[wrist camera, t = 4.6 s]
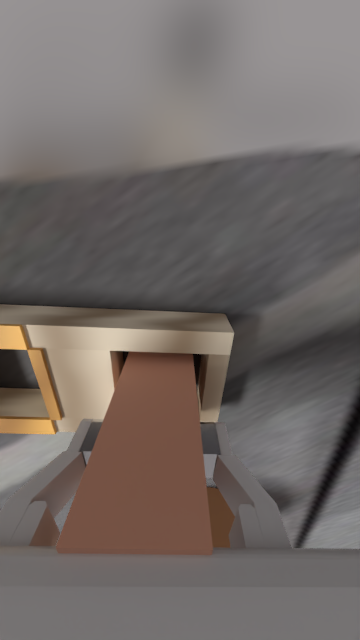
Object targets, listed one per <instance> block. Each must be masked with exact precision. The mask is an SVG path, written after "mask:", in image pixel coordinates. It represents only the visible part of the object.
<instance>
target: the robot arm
mask: <svg viewBox="0 0 360 640" xmlns="http://www.w3.org/2000/svg"><path fill="white" fill-rule="evenodd" d="M103 420H104V419H83V420H82V421H81V422H80V425H79V427H78V429H77V431H76V433H75V435H74V437H73V439H72V441H71V443H70V445H69V447H68V449H67V451H66V452H62V453H61V454H60V455H59V456H57V457H56V458H55V459H54V460H53V461H52V462H50V463H49V464H48V465H47V466H46V467H45V468H43V469H42V470H41V471H40V472H39V473H38V474H36V475H35V476H34V477H33V478H32V479H31V480H29V481H28V482H27V483H26V484H25V485H24V486H22V487H21V488H20V489H19V490H18V491H17V492H15V493H14V494H13V495H12V496H11V497H10V498H8V499H7V501H6V503H5V504H4V506H3V508H2V509H1V511H0V640H360V549H319V548H292V547H291V544H290V541H289V538H288V535H287V532H286V529H285V526H284V524H283V521H282V518H281V515H280V512H279V509H278V506H277V504H276V502H275V501H274V500H273V499H272V498H271V497H270V495H269V494H268V493H267V492H266V491H265V489H264V488H263V487H262V486H261V485H260V483H259V482H258V481H257V480H256V479H255V478H254V476H253V475H252V474H251V473H250V472H249V470H248V469H247V468H246V467H245V466H244V464H243V463H242V462H241V461H240V460H239V459H238V457H237V456H236V455H233V454H232V450H231V445H230V441H229V437H228V433H227V428H226V424H225V423H224V422H200V428H201V438H202V448H203V457H204V467H205V477H206V478H213V481H214V482H215V484H216V486H217V487H218V489H219V491H220V492H221V494H222V496H223V497H224V499H225V501H226V502H227V504H228V506H229V507H230V509H231V511H232V512H233V514H234V516H235V519H234V522H233V524H232V527H231V530H230V533H229V541H230V547H231V548H213V552H212V555H160V554H78V553H58V552H57V550H56V543H57V540H58V538H59V535H60V532H59V529H58V527H57V525H56V522H55V520H54V518H55V517H56V515H57V514H58V513H59V512H60V511H61V509H62V508H63V507H64V506H65V505H66V503H67V502H68V501H69V500H70V499H71V497H72V496H73V495H74V494H75V492H76V491H77V489H78V487H79V484H80V481H81V479H82V476H83V473H84V471H85V468H86V465H87V463H88V460H89V457H90V455H91V452H92V449H93V447H94V444H95V441H96V439H97V436H98V433H99V431H100V428H101V425H102V423H103Z"/></svg>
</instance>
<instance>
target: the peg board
mask: <svg viewBox="0 0 360 640" xmlns="http://www.w3.org/2000/svg"><path fill="white" fill-rule="evenodd" d="M233 337H234V331H233V329H232V327H231V325H230V323H229V321H228V319H227V317H226V315H225V314H220V313H196V312H172V311H148V310H125V309H101V308H77V307H53V306H29V305H6V304H0V349H18V350H27V351H28V354H29V357H30V360H31V363H32V366H33V369H34V372H35V375H36V378H37V381H38V384H39V387H40V389H27V388H0V433H22V434H56V432H76V431H77V429H78V427H79V425H80V422H81V421H82V420H83V419H104V417H105V415H106V412H107V409H108V407H109V404H110V401H111V399H112V396H113V393H114V391H115V388H116V385H117V383H118V380H119V377H120V375H121V372H122V369H123V367H124V360H123V351H133V352H161V353H188V354H202V355H201V364H200V372H199V381H198V389H197V399H198V409H199V419H200V422H217V421H218V416H219V411H220V405H221V400H222V395H223V390H224V384H225V379H226V374H227V369H228V363H229V358H230V353H231V348H232V342H233Z"/></svg>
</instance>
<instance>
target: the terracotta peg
mask: <svg viewBox="0 0 360 640" xmlns="http://www.w3.org/2000/svg"><path fill="white" fill-rule="evenodd" d="M56 550H57V552H58V553H78V554H160V555H212V552H213V545H212V535H211V525H210V516H209V506H208V496H207V487H206V477H205V467H204V457H203V448H202V438H201V428H200V419H199V409H198V399H197V390H196V380H195V370H194V361H193V354H188V353H161V352H133V351H129V353H128V356H127V359H126V361H125V364H124V367H123V369H122V372H121V375H120V377H119V380H118V383H117V385H116V388H115V391H114V393H113V396H112V399H111V401H110V404H109V407H108V409H107V412H106V415H105V417H104V420H103V423H102V425H101V428H100V431H99V433H98V436H97V439H96V441H95V444H94V447H93V449H92V452H91V455H90V457H89V460H88V463H87V465H86V468H85V471H84V473H83V476H82V479H81V481H80V484H79V487H78V489H77V492H76V495H75V497H74V500H73V503H72V505H71V508H70V511H69V513H68V516H67V519H66V521H65V524H64V527H63V529H62V532H61V535H60V537H59V540H58V543H57V545H56Z"/></svg>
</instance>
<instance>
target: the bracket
mask: <svg viewBox="0 0 360 640" xmlns="http://www.w3.org/2000/svg"><path fill="white" fill-rule="evenodd" d="M207 496H208V506H209V516H210V525H211V535H212V545H213V548H231V547H230V541H229V533H230V530H231V527H232V524H233V522H234V519H235V516H234V514H233V512H232V511H231V509H230V507H229V506H228V504H227V502H226V501H225V499H224V497H223V496H222V494H221V492H220V491H219V489H217V488H211V487H207Z"/></svg>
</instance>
